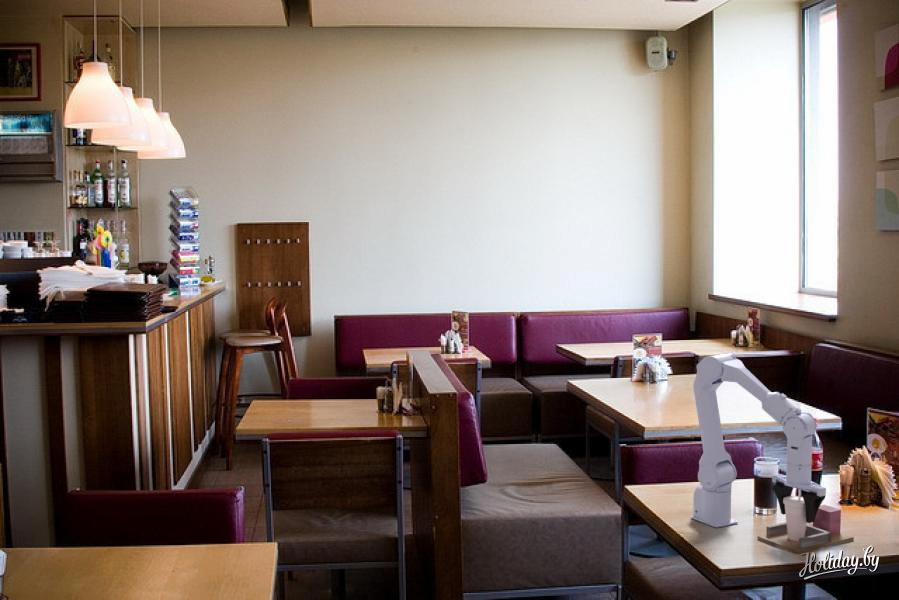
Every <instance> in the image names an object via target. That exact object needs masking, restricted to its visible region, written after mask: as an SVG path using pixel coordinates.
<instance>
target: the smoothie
mask: <svg viewBox="0 0 899 600" xmlns="http://www.w3.org/2000/svg"><path fill="white" fill-rule="evenodd" d="M797 492H798V495H796V496H794V495H791V496H788V497H785V498H783V503H784V504H785V514H784V515H785V522H786V523H787V533H788V538H789V539H790V540H794V541H799V538H803V537H804V536H805V530H806V524H807V525H808V523H807V522H806V509H805V503H804V499H803V496H802V490H800V489H797Z"/></svg>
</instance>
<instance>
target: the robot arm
mask: <svg viewBox="0 0 899 600" xmlns="http://www.w3.org/2000/svg"><path fill="white" fill-rule="evenodd" d="M724 382H728V383H729V382H730V383H737V384H738V385H739V387H742V388H743V389H744V390H745V391H747V392H748V393H749V394H750V395H752V396H753V397H755V399H757V400H758V401H759V402H760V403H761V408H762V410H763V411H764V412H765V413H766V414H767V415H768V416H770V417H771V418H772V419H773V420H774V421H775V422H776V423H777V424H779V425H780V426H781V427H782V430H783V433H784V435H785V437H786V440H787V441H786V468H785V469H786V471H785V472H786V473H785V474H782V473H774V474H772V481H771V482H772V483H775V484H774V485H771V489H772V491H773V492H774V494H775V496H776V499H777V502H778V506H779V508H780V509H779V510H780V513H781V514H782V515H786V514H785V504H784V503H783V498H785V497H788V496H792V493H793V489H797V490H798V489H800V490H801V491H804V492H807V493H805V494H802V497H803V499H804V503H805V509H806V522H807V524H813V522H814V521H815V517H816V514H817V511H818V509H819V507H820V505H822V503H823V501H824V500H825V498H826V496H827V494H826V493H827V492H826V491H827V488H826V486H822V485H821V484H818V483H817V482H814V481H812V466H813V465H812V462H813V435H814V434H815V433H816V430H817V426H818V424H817V421H816V419H815V418H814V416H812V414H811V412H810V413H809V412H806V411H802V409H801V408H800V407H796V406H795V405H794V404H793V403H791V402H790V401H789V400H788V399H787V398H788V396H787V395H786V394H784V393H780V392H779V391H774V392H771V390H769V389H768V388H767V387H766V386H765V385H764V384H763V383H762V382H761V381H760V380H759V379H758V378H757V377H756V376H755V375H754V374H753V373H751V371H750V370H749V369H747V367H745V365H744V363H743V361H742V360H740V359H738V358H737V357H736V356H735V355H734V354H732V353H729V352H723V353H721V354H716V355H708V356H707V355H706V356H705V357H703V358H702V359H701V360H700V361H699V362H698V363H697V364H696V375H695V378H694V381H693V393H694V398H695V405H696V412H697V419H698V425H699V427H698V428H699V432H700V438H701V444H702V452H703V453H702V455H701V456H700V459H699V461H698V466H699V467H698V472H697V481H698V482H699V485H697V486H696V487H695V490H694V492H693V499H692V501H693V504H692V505H693V507H692V508H693V510H692V512H693V513H692V514H693V515H690V518H691V519H693V520H695V521H698V522H701V523H702V524H706V525H709V526H711V527H714V528H720V527H721V528H722V527H726V526H730V525H734V524H739V521H738V520H736V519H733V518H732V517H731V515H732V484H733V482H734V481H735V480H736V478H737V475H738V471H737V469H736V466H735V465H734V464H733V461H732V456H731V454H730V453H729V452H727V451H726V449H725V443H724V437H723V430H722V429H723V428H722V423H721V422H722V421H721V417H720V411H719V410H720V409H719V403H718V398H717V389H718V388H720V386H721V385H722V384H723V383H724Z"/></svg>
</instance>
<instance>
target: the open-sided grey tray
mask: <svg viewBox="0 0 899 600" xmlns="http://www.w3.org/2000/svg"><path fill="white" fill-rule="evenodd" d="M841 520H842V509H840V508H836V507H834V506H830V505H827V504H821V505H820V507H819V509H818V511H817V514H816V517H815V521H814V522H812V523H807V524H806V530H805V536H804V537H803V538H799V541H794V540H790V539H789V538H788V533H787V523H786V521H784V522H781V523H777V524H776V523H775V524H772V525H767V526H766V532H765V533H766V534H762V535H757V540H758V541H761V542H764V543H765V544H767V545H768V544H769V545H772V546H774V547H776V548H778V549H782V550H785V551H787V552H789V553H792V554H795V555H800V554H804V553H808V552H811V551H815V550H820V549H823V548H828V546H829V547H832V546H837V545H840V544H845V543H849V542H852V541H854V539H855V538H854V536H851V535H848V534H847V533H846V534H845V533H843V532H841V526H842V525H841V523H842V521H841ZM844 542H845V543H844Z"/></svg>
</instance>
